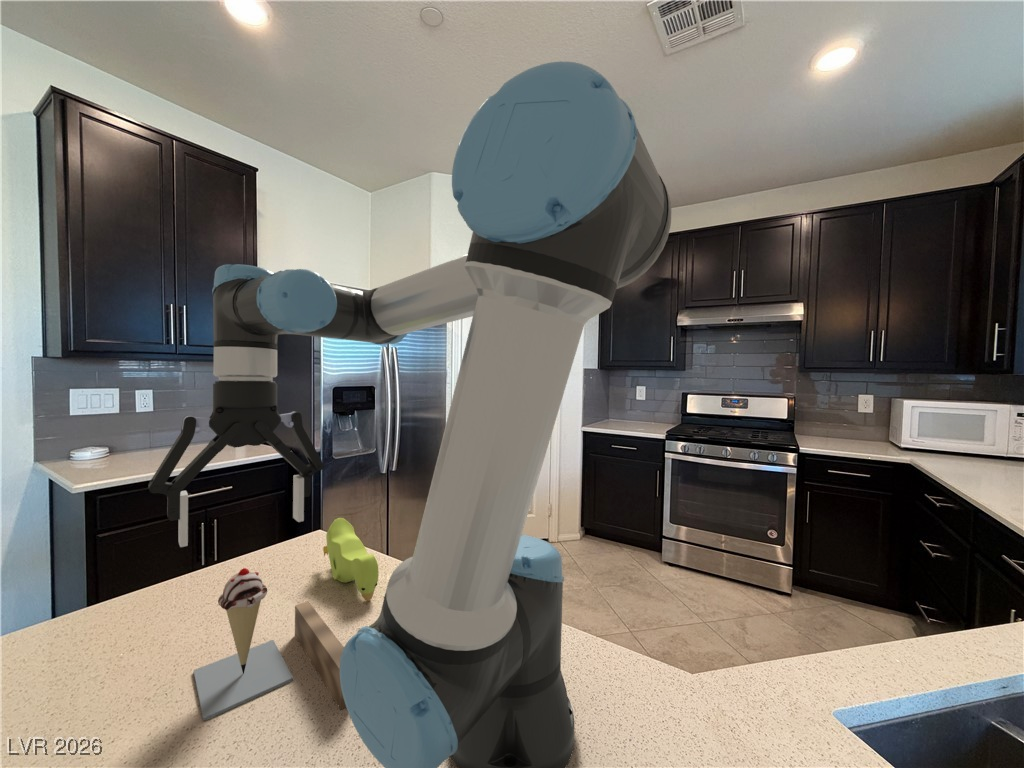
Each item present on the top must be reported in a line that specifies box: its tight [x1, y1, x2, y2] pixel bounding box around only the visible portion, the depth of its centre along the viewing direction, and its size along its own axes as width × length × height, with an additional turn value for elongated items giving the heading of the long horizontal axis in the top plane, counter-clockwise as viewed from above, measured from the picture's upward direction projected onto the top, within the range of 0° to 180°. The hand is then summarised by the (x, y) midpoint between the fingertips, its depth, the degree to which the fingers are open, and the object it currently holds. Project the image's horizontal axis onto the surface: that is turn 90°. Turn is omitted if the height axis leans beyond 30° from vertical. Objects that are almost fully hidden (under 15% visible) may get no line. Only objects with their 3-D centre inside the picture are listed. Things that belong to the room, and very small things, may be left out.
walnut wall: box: [294, 600, 347, 710], centre depth 59 cm, size 20×2×5 cm, turn 43°
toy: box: [322, 517, 379, 602], centre depth 83 cm, size 6×17×20 cm
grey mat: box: [193, 639, 294, 722], centre depth 57 cm, size 11×10×1 cm
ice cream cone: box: [217, 567, 268, 674], centre depth 56 cm, size 6×6×15 cm
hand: (245, 530), depth 56 cm, fingers open, 13 cm apart
